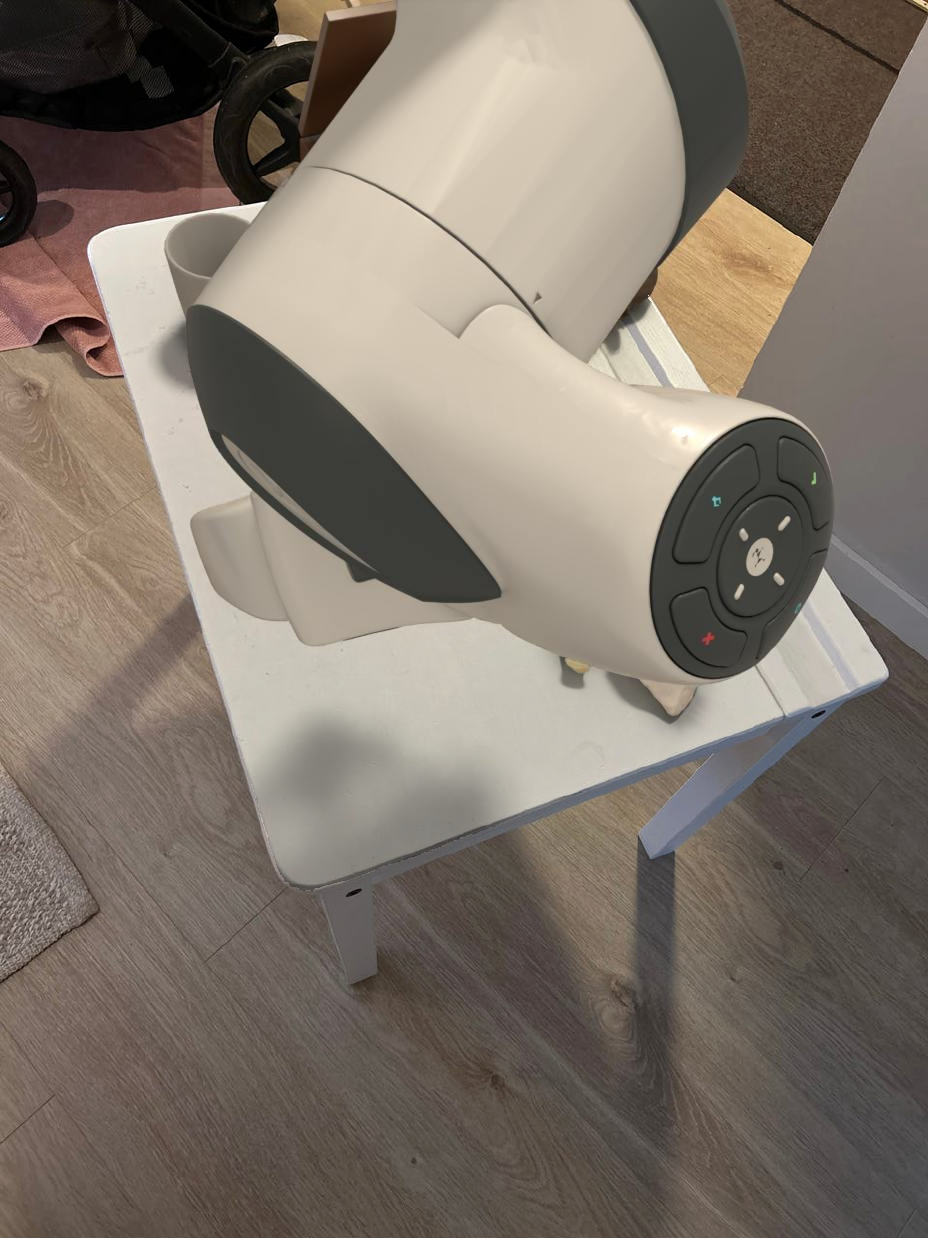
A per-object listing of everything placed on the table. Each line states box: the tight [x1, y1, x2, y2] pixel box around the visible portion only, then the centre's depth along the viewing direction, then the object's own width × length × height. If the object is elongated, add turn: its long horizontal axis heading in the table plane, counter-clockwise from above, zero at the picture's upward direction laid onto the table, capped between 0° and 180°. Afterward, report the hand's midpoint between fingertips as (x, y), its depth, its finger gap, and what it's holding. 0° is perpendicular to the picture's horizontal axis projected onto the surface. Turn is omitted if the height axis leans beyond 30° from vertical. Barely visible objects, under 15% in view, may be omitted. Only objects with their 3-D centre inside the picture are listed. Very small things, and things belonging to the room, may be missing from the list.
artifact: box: [638, 679, 699, 717], centre depth 66 cm, size 7×3×10 cm
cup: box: [163, 212, 251, 319], centre depth 76 cm, size 8×10×8 cm
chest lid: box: [297, 0, 397, 138], centre depth 72 cm, size 12×11×5 cm
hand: (363, 476), depth 50 cm, fingers closed on robot figurine, 7 cm apart
